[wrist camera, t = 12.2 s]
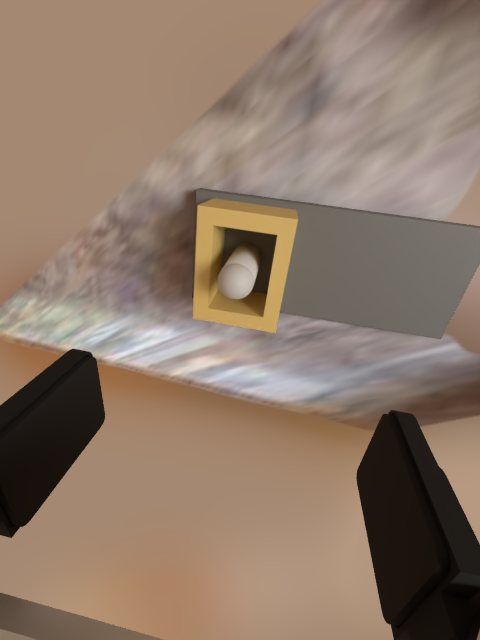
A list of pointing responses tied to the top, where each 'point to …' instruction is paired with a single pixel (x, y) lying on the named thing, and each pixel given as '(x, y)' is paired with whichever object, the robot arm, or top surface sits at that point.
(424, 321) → the keeper board
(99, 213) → the top surface
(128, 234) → the top surface
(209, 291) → the tan hollow block
